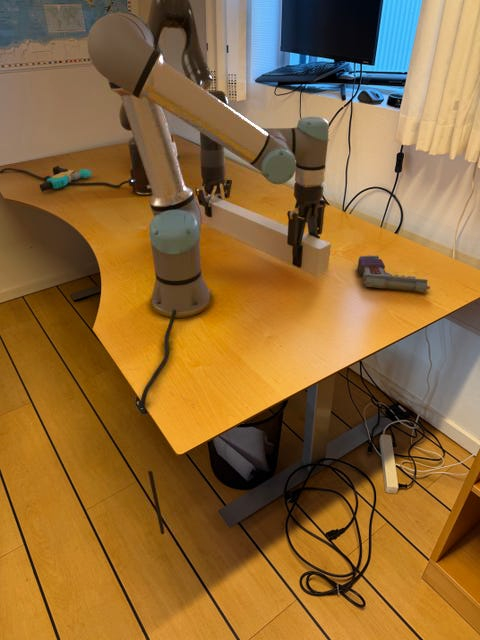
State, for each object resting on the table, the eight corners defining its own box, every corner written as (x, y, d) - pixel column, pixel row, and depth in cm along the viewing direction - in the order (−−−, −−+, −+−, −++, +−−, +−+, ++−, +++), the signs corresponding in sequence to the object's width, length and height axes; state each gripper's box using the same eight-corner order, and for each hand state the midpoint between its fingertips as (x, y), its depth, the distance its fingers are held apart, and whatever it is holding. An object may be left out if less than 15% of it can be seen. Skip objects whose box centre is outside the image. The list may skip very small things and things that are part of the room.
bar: (327, 270, 133) (331, 243, 128) (317, 277, 131) (320, 249, 126) (207, 216, 164) (206, 192, 159) (196, 220, 161) (195, 196, 156)
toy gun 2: (422, 269, 137) (428, 298, 126) (357, 263, 141) (356, 291, 129) (425, 258, 135) (432, 285, 123) (358, 252, 138) (358, 278, 126)
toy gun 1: (18, 179, 190) (45, 185, 184) (65, 161, 208) (91, 166, 203) (21, 190, 192) (48, 196, 187) (67, 171, 211) (93, 177, 205)
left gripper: (222, 154, 152) (223, 205, 162) (187, 164, 145) (191, 217, 155) (238, 159, 148) (238, 211, 158) (202, 170, 140) (205, 224, 150)
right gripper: (319, 170, 129) (312, 247, 143) (274, 187, 119) (272, 268, 133) (342, 177, 125) (332, 256, 138) (297, 195, 115) (292, 278, 129)
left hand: (215, 213), depth 156 cm, fingers closed on bar, 4 cm apart
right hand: (303, 262), depth 136 cm, fingers closed on bar, 5 cm apart
